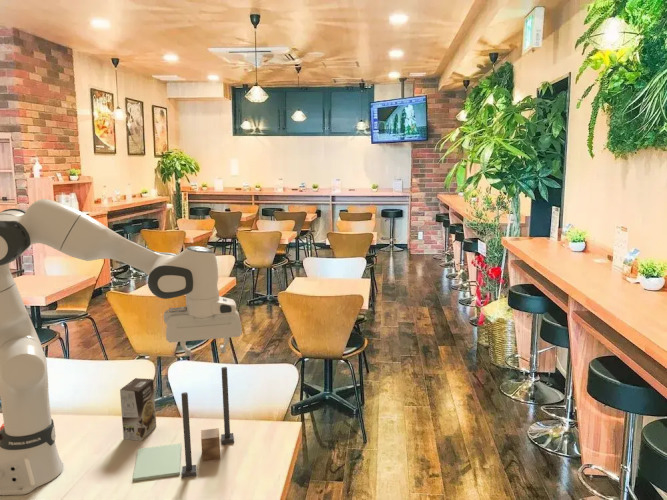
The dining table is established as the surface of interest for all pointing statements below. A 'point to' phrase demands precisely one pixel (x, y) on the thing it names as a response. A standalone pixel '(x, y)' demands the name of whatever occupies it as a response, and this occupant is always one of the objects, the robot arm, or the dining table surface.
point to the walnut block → (210, 444)
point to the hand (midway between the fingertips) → (205, 353)
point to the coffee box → (138, 409)
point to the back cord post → (226, 410)
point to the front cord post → (187, 440)
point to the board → (157, 462)
